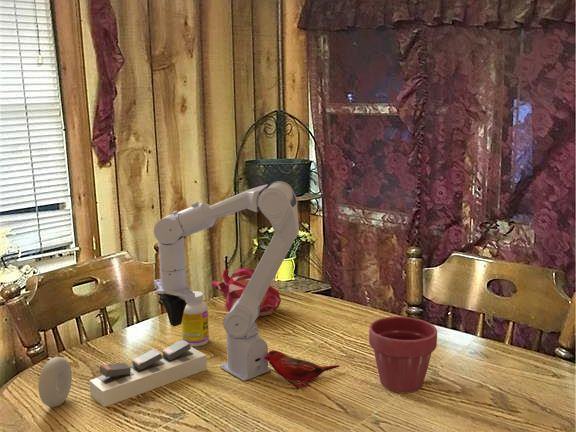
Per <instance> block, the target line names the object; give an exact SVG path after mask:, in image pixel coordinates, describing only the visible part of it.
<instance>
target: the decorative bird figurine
mask: <svg viewBox="0 0 576 432" xmlns="http://www.w3.org/2000/svg"><path fill="white" fill-rule="evenodd" d="M263 359H267V360H268V364H269V365H270V366H271V368H273V369H274V371H275V373H276V374H278V376H280V377H281V378H283V379H285V380H288V381H289V382H294V383H292V384H291V383H287V384H286V385H287V386H293V387H298V388H299V387H307V386H311V385H310V384H309V383H307V382H308V381H311V380H314V379H317V378H318V377H319V376H320V375H321V374H323V373H325V372H328V371H330V370H333V369H334V370H335V369H337V368H339V367H340V365H336V364H335V365H325V366H320V365H318V364H316V363H313V362H310V361H307V360H304V359H298V358H294V357H291V356H288V355H286V354H285V353H283V352H281V351H278V350H270V351H268V354H267V356H265V357H264V358H263Z"/></svg>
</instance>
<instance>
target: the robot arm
mask: <svg viewBox="0 0 576 432" xmlns="http://www.w3.org/2000/svg"><path fill="white" fill-rule="evenodd" d="M268 185H269V184H268V183H267V184H263V185H259V186H256V187H253V188H250V189H247V190H245V191H242V192H240V193H237V194H235V195H233V196H231V197H228V198H225V199H223V200H221V201H219V202H217V203H214V204H208V203H206V202H200V203H199V201H195V202H193V203H191V205H190V207H188V208H185V209H182V210H180V211H179V210H174V211H172V213H171V214H168V215H166V216H164V217H162V218H161V219H160V220H158V221H157V222H156V223H155V225H154V228H153V235H154V237H155V239H156V240H157V241H158V257H159V272H160V273H159V275H160V278H159V279H154V280H153V281H154V284H153V285H154V289H156V293H158V294H159V300H160V302H161V303H162V306H163V307H164V309H165V311H166V313H167V317H168V318H167V319H168V320H169V321H168V322H169V323H170V325H171V326H172V327H177V326H182V318H183V313H184V310H185V307H186V304H187V303H191V302H195V293H193V292H192V291H193V290H191V288H190V287H189V286H188V284H187V269H186V251H185V250H186V249H185V238H184V237H188V236H189V237H190V236H191V235H194V234H197V233H199V232H202V231H204V230H207V229H209V228H212V227H213V226H214V224H215V222H216V221H217V219H221V218H223V217H227V216H229V215H231V214H234V213H238V212H241V211H244V210H249V211H252V212H254V213H259V212H261V213H262V215H263V216H264V217H265V218H266V219H267V220H268V221H269V222H270V225H271V227H272V229H273V231H274V233H273V235H272V237H271V240H270V242H269V243H268V245H267V247H266V249H265V251H264V253H263V254H262V257H261V258H260V260H259V263H258V264H257V266H256V268H255V271H254V273H253V275H252V277H251V279H250V281H249V283H248V285H247V287H246V288H245V290H244V292H243V294H242V296H241V297H240V299H238V300H237V301H236V302H235V303H234V305H233V307H232V309H231V310H230V311H229V312H228V313H226V314H225V316H224V317H223V321H222V322H223V324H222V325H223V328H224V330H225V333H226V336H225V337H226V350H227V351H226V356H227V359H226V361H227V362H225V363H222V364H220V365H219V368H221V369H222V370H223V371H225V372H227V373H228V374H231V375H232V376H234V377H236V378H238V379H239V380H241V381H244V382H245V381H248V380H251V379H253V378H256V377H257V376H261V375H263V374H265V373H268V372H270V371H272V367H270V366H269V361H268V360H267V359H263V358H264V357H265V356H267V354H268V353H269V349H268V346H269V345H268V344H267V342H266V340H264V339H263V338H262V337H261V335H260V332H259V327H258V325H257V323H256V320H257V319H258V318H259V317H258V315H259V306H260V303H261V301H262V299H263V297H264V295H265V294H266V292H267V290H268V288H269V286H270V285H271V284H272V282H273V281H274V278H275V277H276V275H277V273H278V271H279V269H280V268H281V266H282V264H283V262H284V261H285V258H286V256H288V255H287V254H288V253H289V251H290V249H291V247H292V245H293V244H294V242H295V240H296V238H297V236H298V234H299V231H300V224H299V211H298V198H297V196H296V194H295V191H294V190H293V188H292V186H291V185H290V184H289V183H288V182H285V181H281V180H280V181H279V180H277V181H274V182H272V183H270V185H269V186H268ZM267 186H268V187H267Z"/></svg>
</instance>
